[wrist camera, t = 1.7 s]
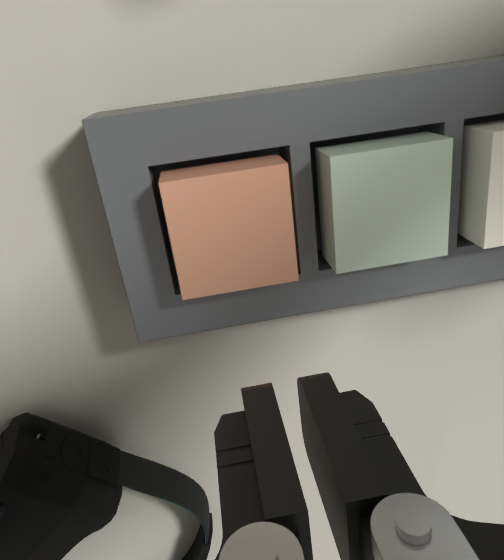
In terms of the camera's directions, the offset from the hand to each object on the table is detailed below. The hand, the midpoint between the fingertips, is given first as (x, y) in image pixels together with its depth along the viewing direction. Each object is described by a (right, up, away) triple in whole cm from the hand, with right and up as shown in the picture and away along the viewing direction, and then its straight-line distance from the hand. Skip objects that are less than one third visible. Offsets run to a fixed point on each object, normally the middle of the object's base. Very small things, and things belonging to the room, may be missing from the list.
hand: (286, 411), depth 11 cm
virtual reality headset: (-14, -15, +26) cm, 34 cm away
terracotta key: (-2, +6, +15) cm, 16 cm away
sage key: (+6, +8, +15) cm, 18 cm away
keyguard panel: (+5, +9, +18) cm, 21 cm away
